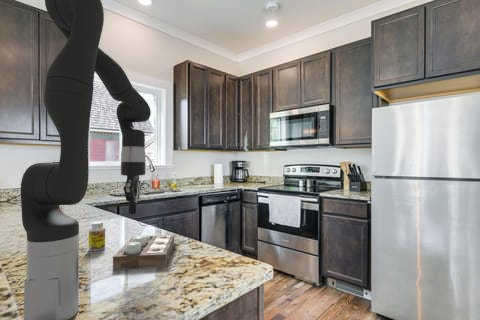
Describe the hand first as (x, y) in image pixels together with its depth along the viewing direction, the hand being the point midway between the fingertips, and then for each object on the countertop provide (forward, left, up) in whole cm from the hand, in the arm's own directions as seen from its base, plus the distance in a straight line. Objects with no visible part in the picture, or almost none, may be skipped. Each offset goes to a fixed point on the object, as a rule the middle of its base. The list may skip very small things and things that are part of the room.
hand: (132, 213), depth 86 cm
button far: (+15, 0, -16) cm, 22 cm away
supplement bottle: (+18, +18, -17) cm, 30 cm away
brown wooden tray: (+8, -3, -17) cm, 19 cm away
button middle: (+8, 0, -14) cm, 16 cm away
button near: (0, 0, -14) cm, 14 cm away
